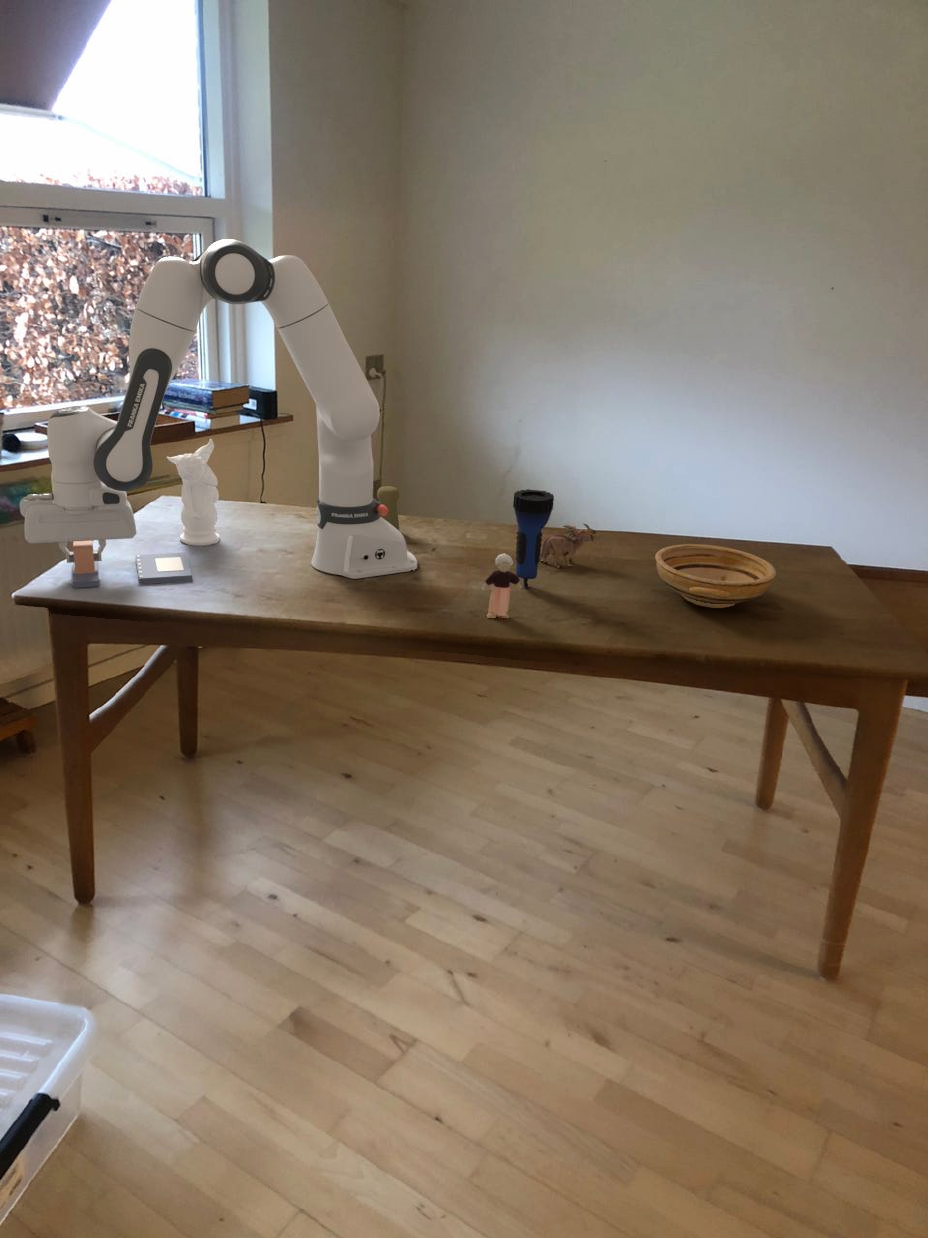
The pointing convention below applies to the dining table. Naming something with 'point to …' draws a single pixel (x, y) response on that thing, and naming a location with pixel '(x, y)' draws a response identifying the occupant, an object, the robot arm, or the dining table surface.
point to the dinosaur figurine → (566, 544)
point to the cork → (389, 504)
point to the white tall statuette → (198, 497)
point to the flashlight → (530, 529)
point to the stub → (84, 565)
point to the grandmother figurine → (501, 587)
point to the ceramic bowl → (714, 573)
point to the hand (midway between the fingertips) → (84, 561)
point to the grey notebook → (163, 568)
